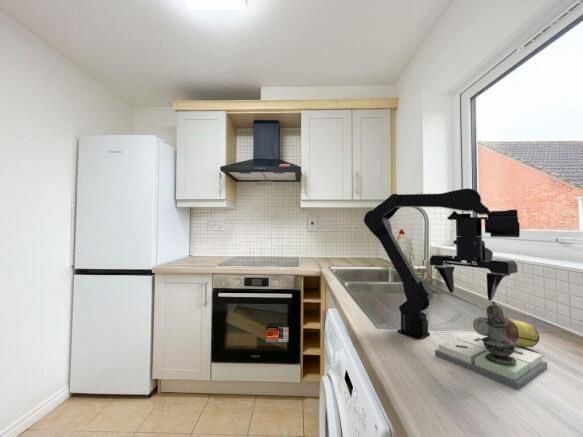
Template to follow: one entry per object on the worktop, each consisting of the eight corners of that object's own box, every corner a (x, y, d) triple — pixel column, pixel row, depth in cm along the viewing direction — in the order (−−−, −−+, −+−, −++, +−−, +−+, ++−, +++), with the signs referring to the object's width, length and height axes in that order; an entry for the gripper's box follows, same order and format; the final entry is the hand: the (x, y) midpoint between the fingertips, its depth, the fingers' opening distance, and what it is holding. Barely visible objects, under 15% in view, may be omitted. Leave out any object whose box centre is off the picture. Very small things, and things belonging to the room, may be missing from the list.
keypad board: (435, 355, 64) (434, 343, 64) (468, 341, 72) (468, 330, 73) (517, 389, 50) (517, 374, 51) (547, 367, 59) (546, 354, 59)
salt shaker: (526, 363, 54) (518, 302, 56) (502, 366, 53) (495, 304, 54) (498, 352, 60) (491, 297, 61) (476, 355, 59) (470, 299, 60)
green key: (474, 370, 57) (474, 356, 57) (489, 362, 61) (489, 349, 61) (515, 387, 51) (514, 371, 51) (529, 376, 55) (528, 362, 55)
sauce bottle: (517, 318, 73) (474, 304, 65) (545, 331, 67) (501, 317, 59) (507, 340, 73) (463, 329, 65) (535, 354, 67) (490, 344, 59)
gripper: (525, 237, 67) (527, 300, 66) (448, 235, 83) (449, 286, 82) (506, 237, 61) (508, 306, 60) (428, 236, 77) (428, 290, 76)
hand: (470, 296), depth 70 cm, fingers open, 9 cm apart
